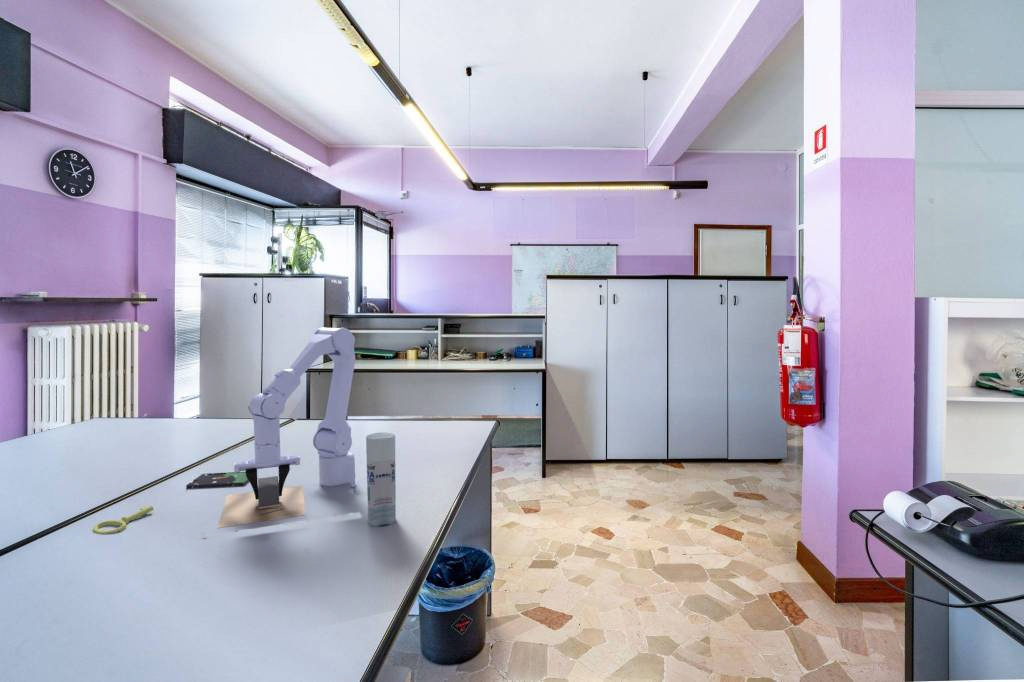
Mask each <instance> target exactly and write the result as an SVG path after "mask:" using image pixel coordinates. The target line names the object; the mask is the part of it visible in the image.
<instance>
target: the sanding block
mask: <svg viewBox="0 0 1024 682" xmlns="http://www.w3.org/2000/svg"><path fill="white" fill-rule="evenodd" d="M257 483H258V498H259V509H261V508H267V507H274V506H279V475H277V476H268V477H260V478H258V477H257Z"/></svg>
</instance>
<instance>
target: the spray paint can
mask: <svg viewBox="0 0 1024 682" xmlns="http://www.w3.org/2000/svg"><path fill="white" fill-rule="evenodd" d="M365 443H366V444H365V447H366V451H365V452H366V453H365V454H366V489H367V493H366V494H367V523H368V524H369V525H370V526H373V527H386V526H389V525H392V524H394V523H395V521H396V519H397V517H396V516H397V513H396V512H397V510H396V507H397V506H396V505H397V503H396V501H397V500H396V497H397V496H396V495H397V494H396V491H397V490H396V488H397V487H396V434H395V433H392V432H375V433H369V434H368V435H366V436H365Z"/></svg>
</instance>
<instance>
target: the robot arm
mask: <svg viewBox="0 0 1024 682" xmlns="http://www.w3.org/2000/svg"><path fill="white" fill-rule="evenodd" d="M355 341H356V337H355V336H354V334H353V333H352V332H351V330H350V329H348V328H346V327H340V328H339V327H324V326H322V327H319V328H317V329H316V330H315V332H314V333H313V334H312V335H311V336H310V337H309V341H308V343H307V344H306V346H305V347H304V348H303V350H302V351H301V352H300V354H299V355H298V356H297V358H296V359H295V360H294V362H293V363H292V364H291V366H290V367H289V368H286V369H282V370H280V371H276V373H275V374H274V376H275V377H274V378H273V379H272V381H271V382H270V383H269V384H268V385H267V387H263V388H262V391H261V393H258V394H256V395H254V396H253V397H252V398H251V400H250V403H249V405H248V406H247V409H248V412H249V413H250V414H251V416H252V419H253V420H252V421H253V438H254V439H253V440H254V441H253V442H254V445H253V446H254V459H249V460H244V461H238V462H237V461H236V462H234V464H233V466H234V469H233V470H234V472H235V473H236V472H246V477H247V478H248V480H249V482H248V483H249V484H250V485H251V486H250V487H251V488H252V490H253V492H254V494H255V499H256V500H257V499H259V498H258V470H260V469H261V470H263V469H270V468H277V469H278V482H279V496H282V490H283V488H284V485H285V482H286V479H287V477H288V475H289V473H290V470H291V468H290V466H293V465H295V466H300V465H301V456H300V455H284V456H283V455H281V435H280V434H281V430H280V429H281V426H280V416H281V415H282V414H284V411H285V407H286V402H287V400H288V399H289V398H290V397H291V396H292V394H293V393H294V392H295V391H296V390H297V388H298V387H299V386H301V383H302V382H301V377H302V376H303V375H304V374H305V372H306V371H308V369H310V367H311V366H312V365H313V364H314V363H315V362H316V360H318V359H319V358H320V357H321V356H324V355H327V356H328V357H329V358H330V359H331V361H333V369H332V375H331V379H330V380H331V381H330V386H329V394H328V399H327V405H326V411H325V415H324V416H325V417H324V418H323V419H322V421H320V422H319V423H318V426H317V430H316V432H315V433H314V436H313V438H312V445H313V447H314V449H315V450H317V454H318V462H319V463H318V466H319V469H318V471H319V472H318V473H319V474H318V476H319V477H318V478H319V480H318V481H319V485H320V486H322V487H323V486H324V487H335V486H340V485H344V484H350V487H351V488H355V487H356V461H355V460H356V459H355V453H354V452H353V451H352V452H351V451H350V449H351V448H352V444H353V439H352V438H353V437H352V435H351V433H352V427H351V426H350V425H349V423H348V422H347V414H348V408H349V401H350V395H351V390H352V385H353V377H354V370H355V364H356V352H355Z"/></svg>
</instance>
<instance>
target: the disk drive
mask: <svg viewBox="0 0 1024 682" xmlns="http://www.w3.org/2000/svg"><path fill="white" fill-rule="evenodd" d="M248 483H250V482H249V480H248V478H247V477H246V471H240V472H236V473H235V472H233V471H232V472H231V471H230V472H209V473H202V474H200V475H198V477H196V478H195V479H193V481H192V482H189V483H187V484H186V485H185V487H186V488H185V489H186V492H187V491H188V489H208V488H226V487H245V486H246V485H247V484H248Z"/></svg>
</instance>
